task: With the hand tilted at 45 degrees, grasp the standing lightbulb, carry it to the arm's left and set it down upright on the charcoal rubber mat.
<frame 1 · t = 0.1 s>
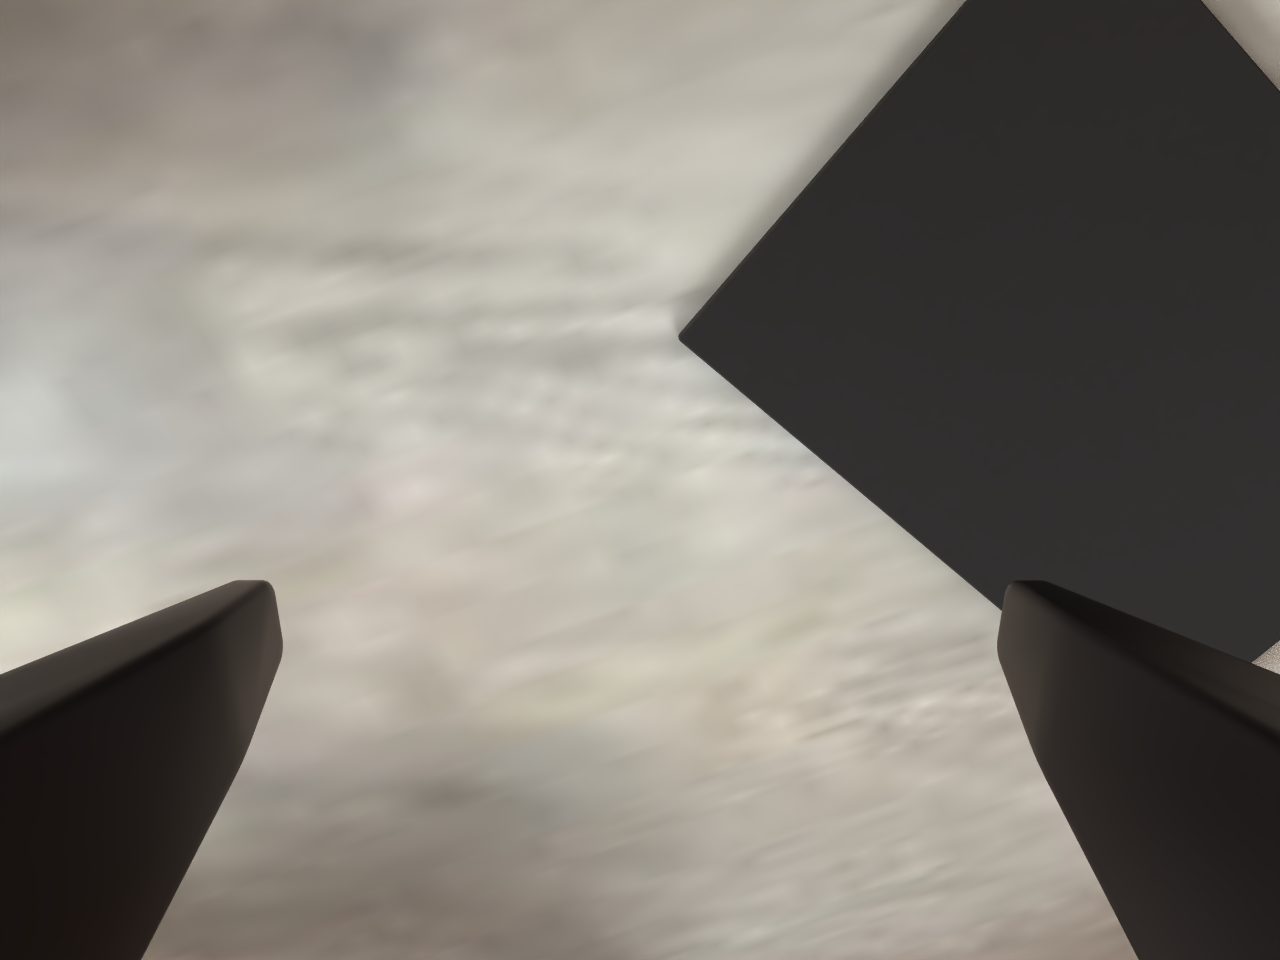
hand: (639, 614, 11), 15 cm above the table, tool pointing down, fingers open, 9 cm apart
mat: (1117, 373, 25), on the table
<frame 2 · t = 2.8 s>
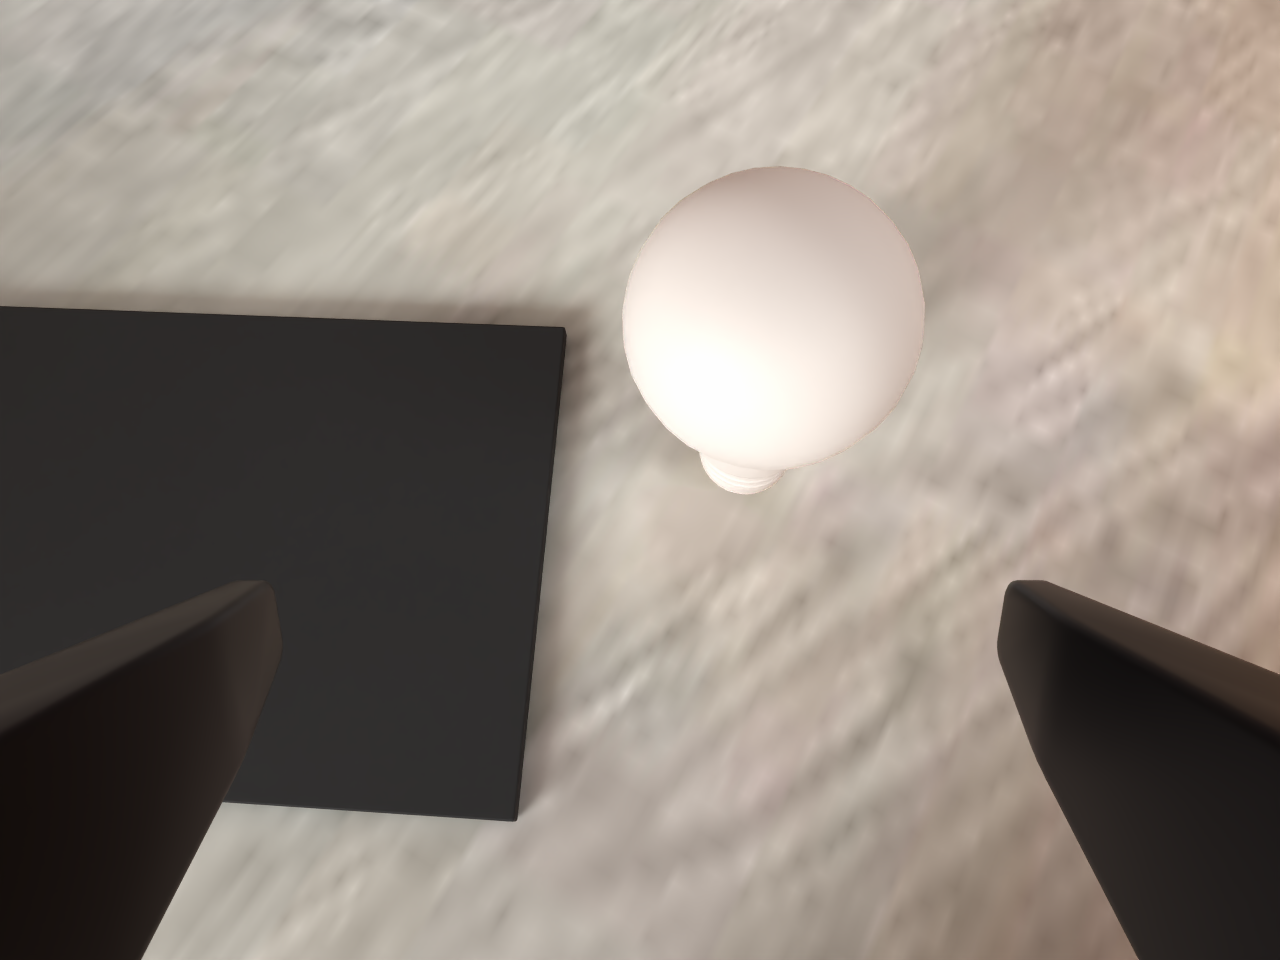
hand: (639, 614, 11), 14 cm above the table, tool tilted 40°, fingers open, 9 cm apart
lightbulb: (742, 465, 26), on the table
mat: (197, 537, 26), on the table
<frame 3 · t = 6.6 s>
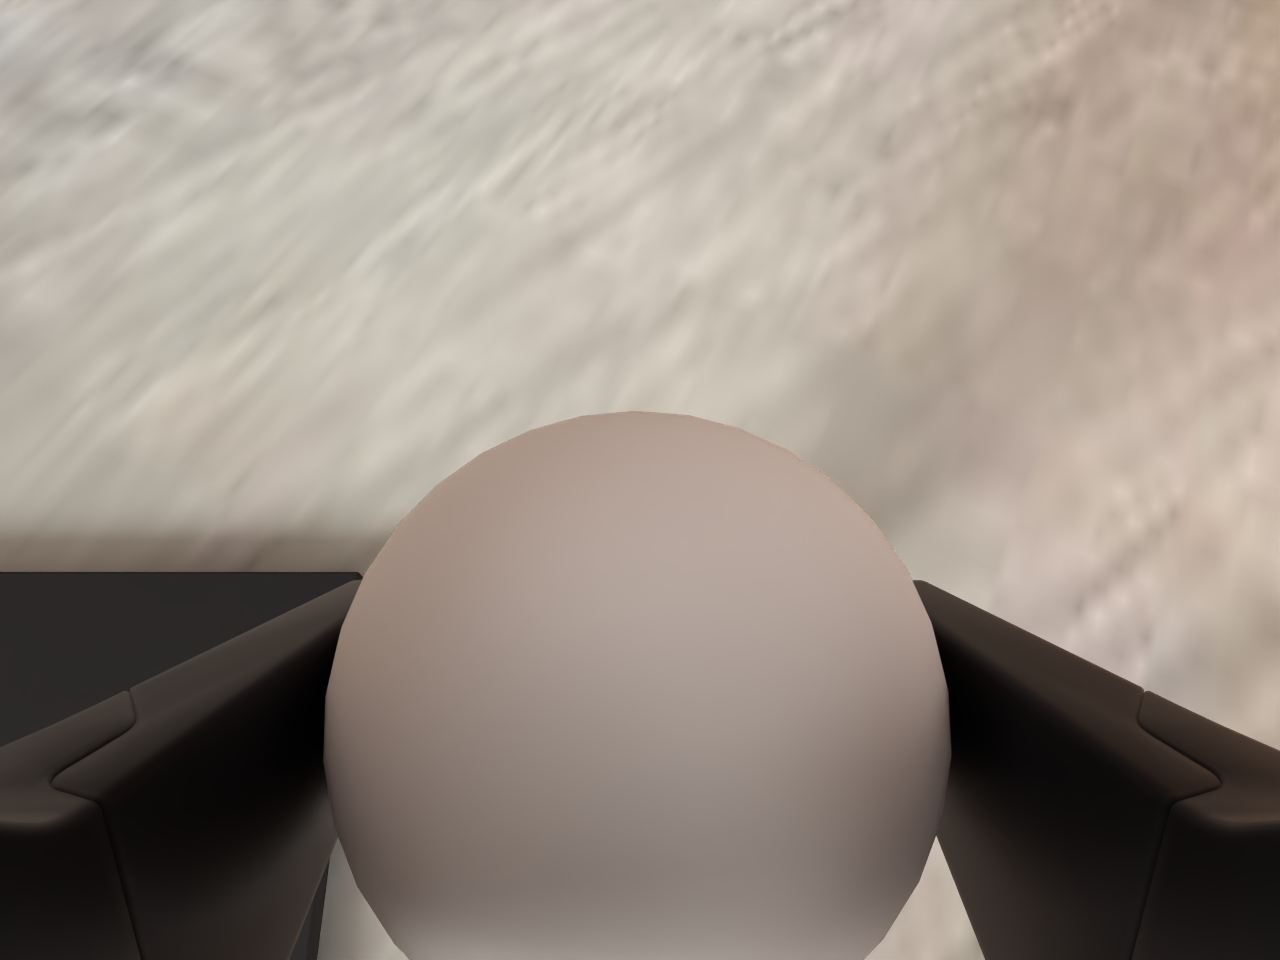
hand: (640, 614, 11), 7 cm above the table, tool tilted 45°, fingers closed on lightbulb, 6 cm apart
lightbulb: (638, 787, 17), on the table, touching gripper
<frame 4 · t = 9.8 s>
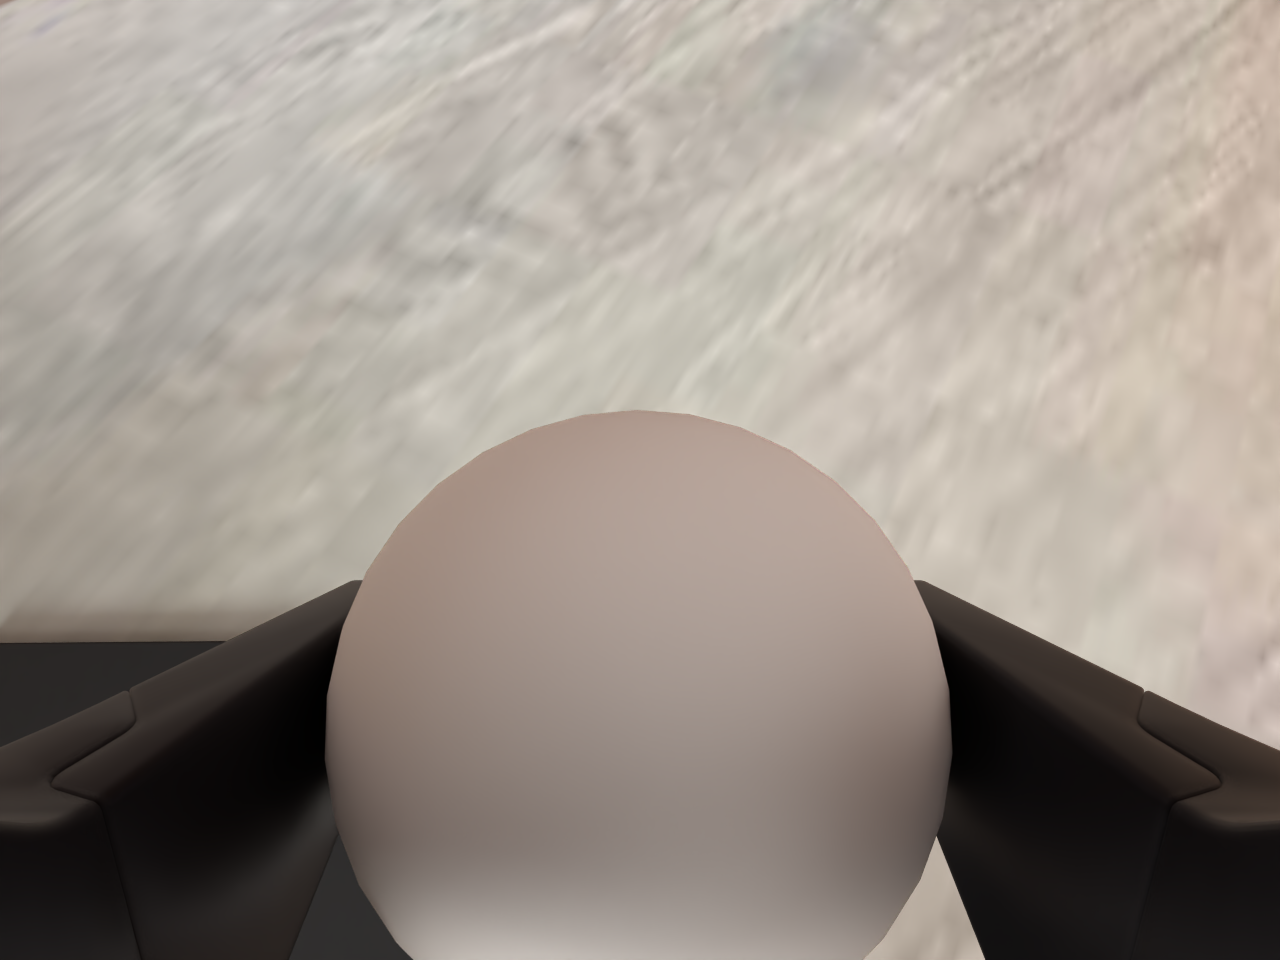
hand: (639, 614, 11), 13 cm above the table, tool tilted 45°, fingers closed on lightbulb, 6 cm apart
lightbulb: (639, 786, 17), point 6 cm above the table, touching gripper
mat: (322, 936, 22), on the table
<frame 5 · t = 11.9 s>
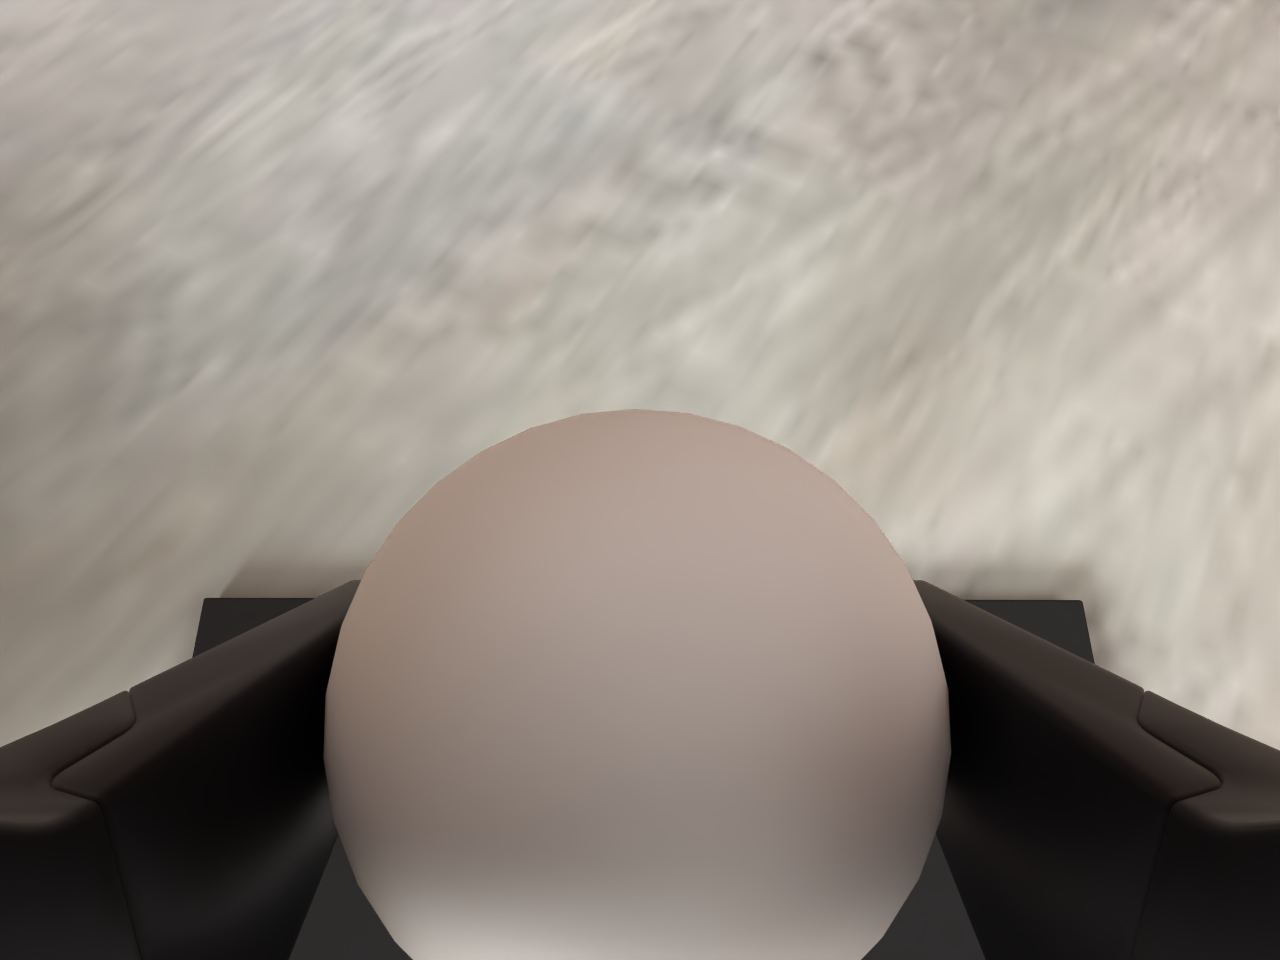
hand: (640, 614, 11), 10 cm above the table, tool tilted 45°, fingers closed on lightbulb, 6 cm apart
lightbulb: (638, 786, 17), point 3 cm above the table, touching gripper
mat: (643, 941, 18), on the table
when the fingers open (7 cm above the table, at t = 13.2 s): lightbulb stays where it is, resting on mat.
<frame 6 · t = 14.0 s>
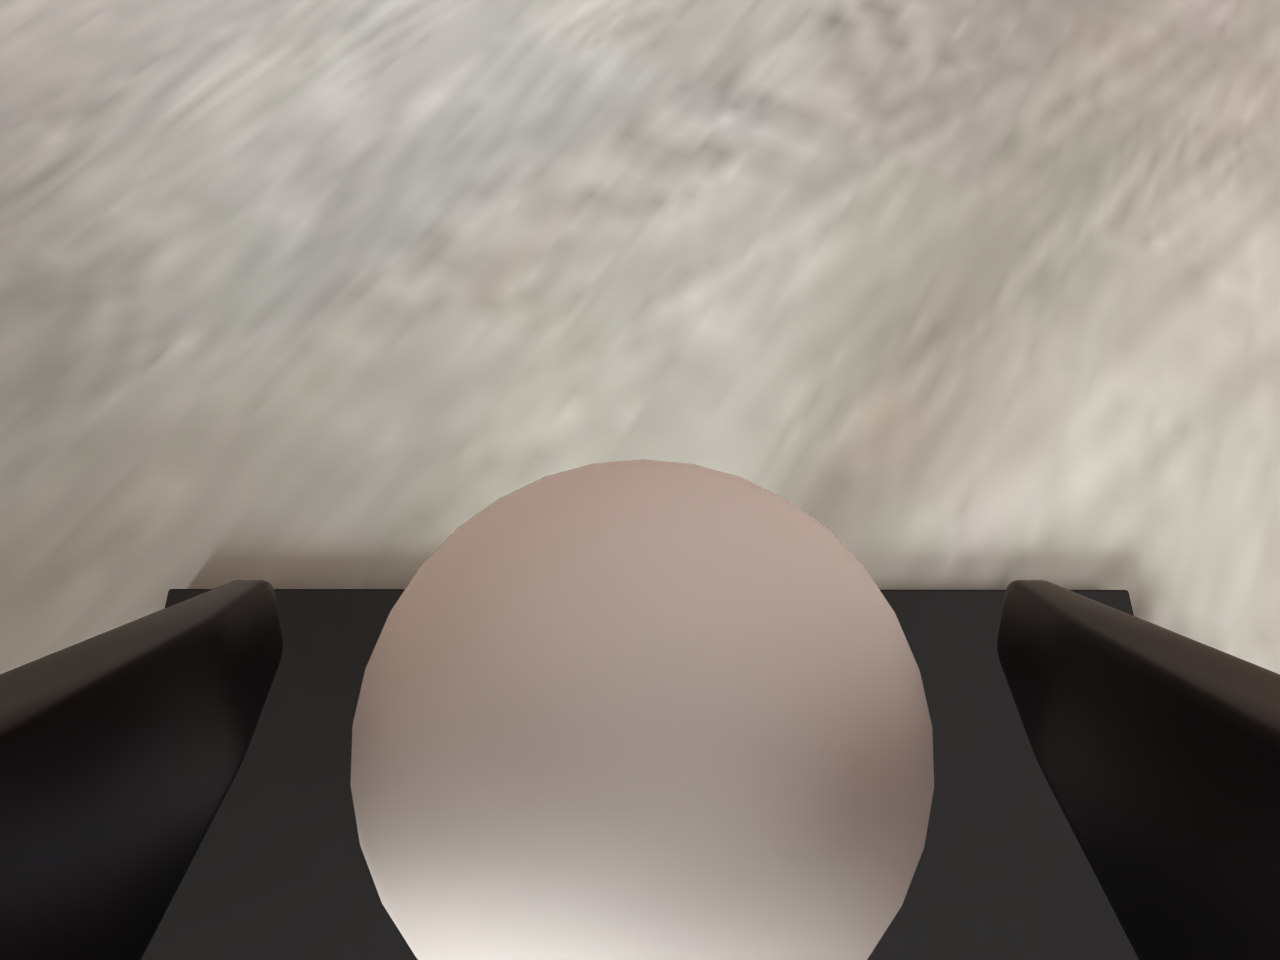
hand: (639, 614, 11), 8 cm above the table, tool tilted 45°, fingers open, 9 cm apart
lightbulb: (641, 803, 17), resting on mat
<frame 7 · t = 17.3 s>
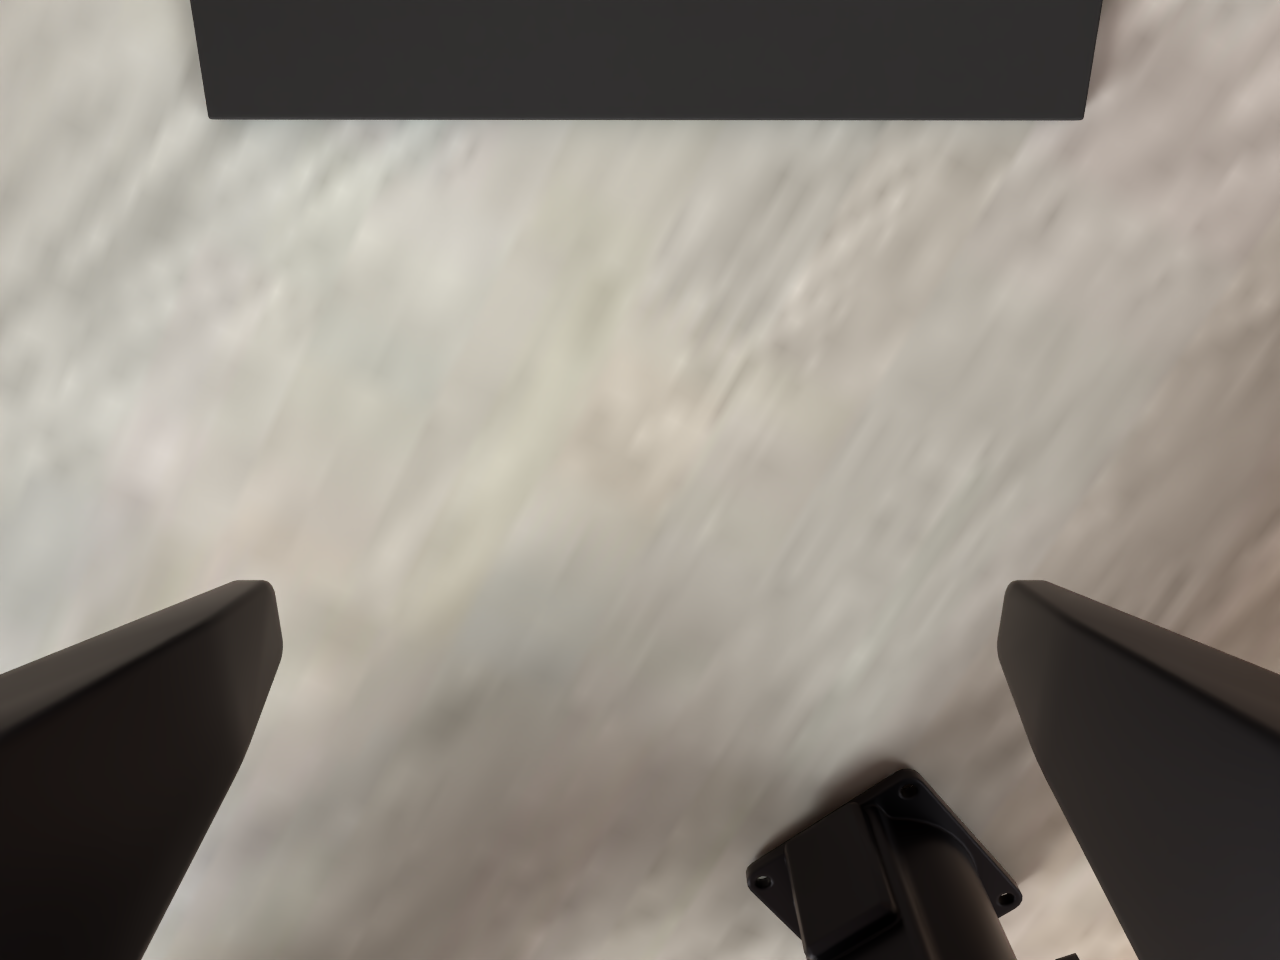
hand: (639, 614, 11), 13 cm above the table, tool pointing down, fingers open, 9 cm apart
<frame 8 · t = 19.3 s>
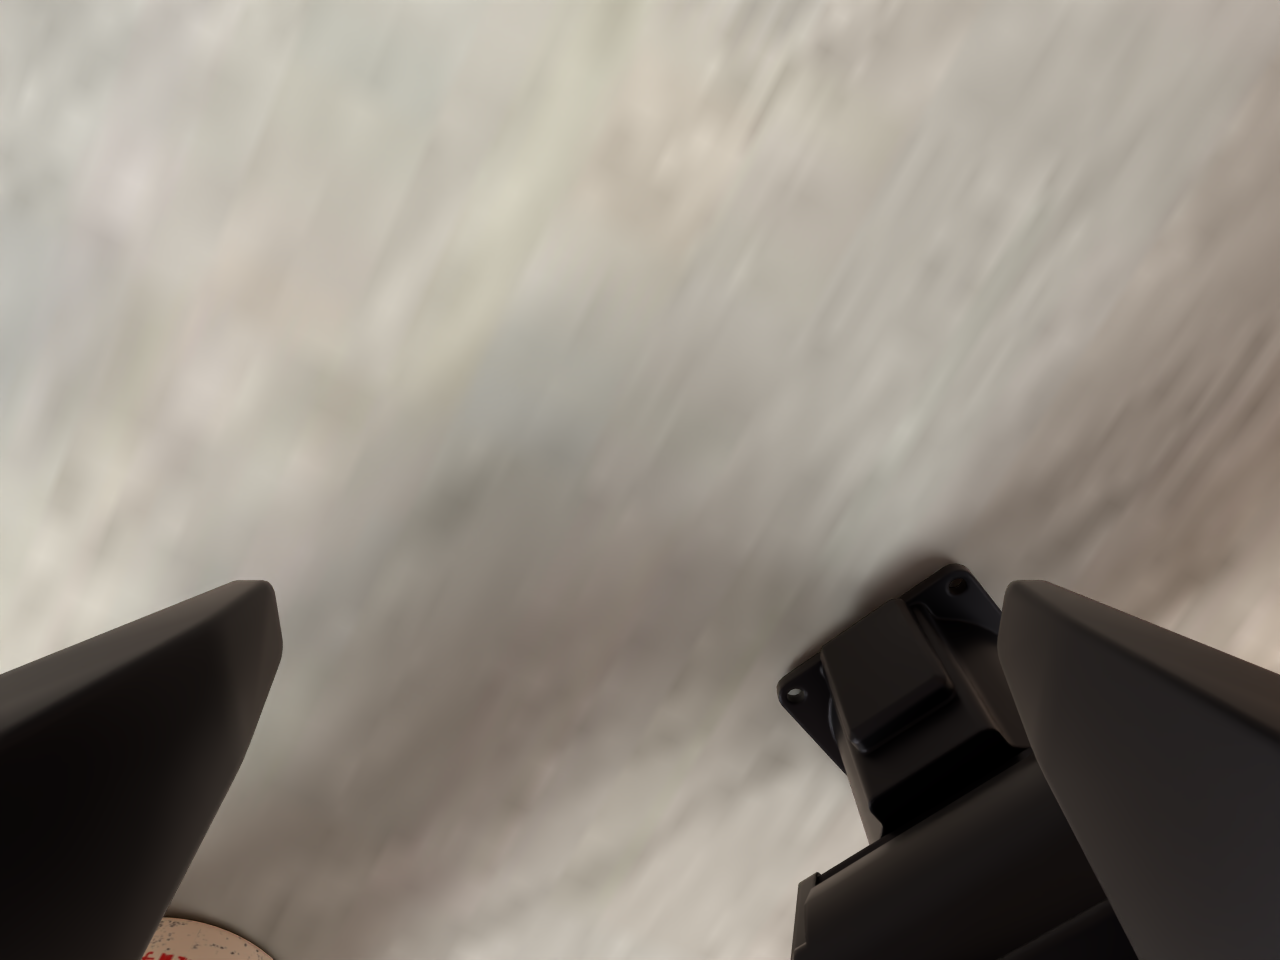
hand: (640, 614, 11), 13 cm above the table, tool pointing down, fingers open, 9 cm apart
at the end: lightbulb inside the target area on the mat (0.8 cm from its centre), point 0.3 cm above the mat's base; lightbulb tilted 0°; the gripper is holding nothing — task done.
